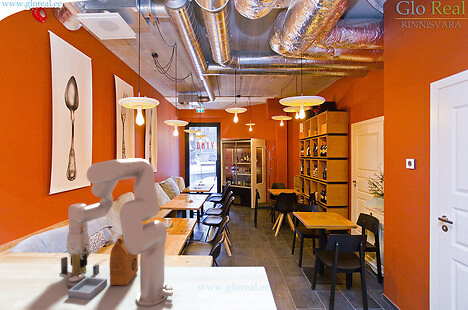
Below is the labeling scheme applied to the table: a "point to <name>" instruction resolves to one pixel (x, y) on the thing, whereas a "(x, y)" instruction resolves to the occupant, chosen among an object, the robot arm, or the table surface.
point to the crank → (69, 275)
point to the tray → (87, 288)
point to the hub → (73, 283)
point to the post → (96, 269)
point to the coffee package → (122, 264)
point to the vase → (77, 264)
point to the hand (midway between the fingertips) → (79, 264)
